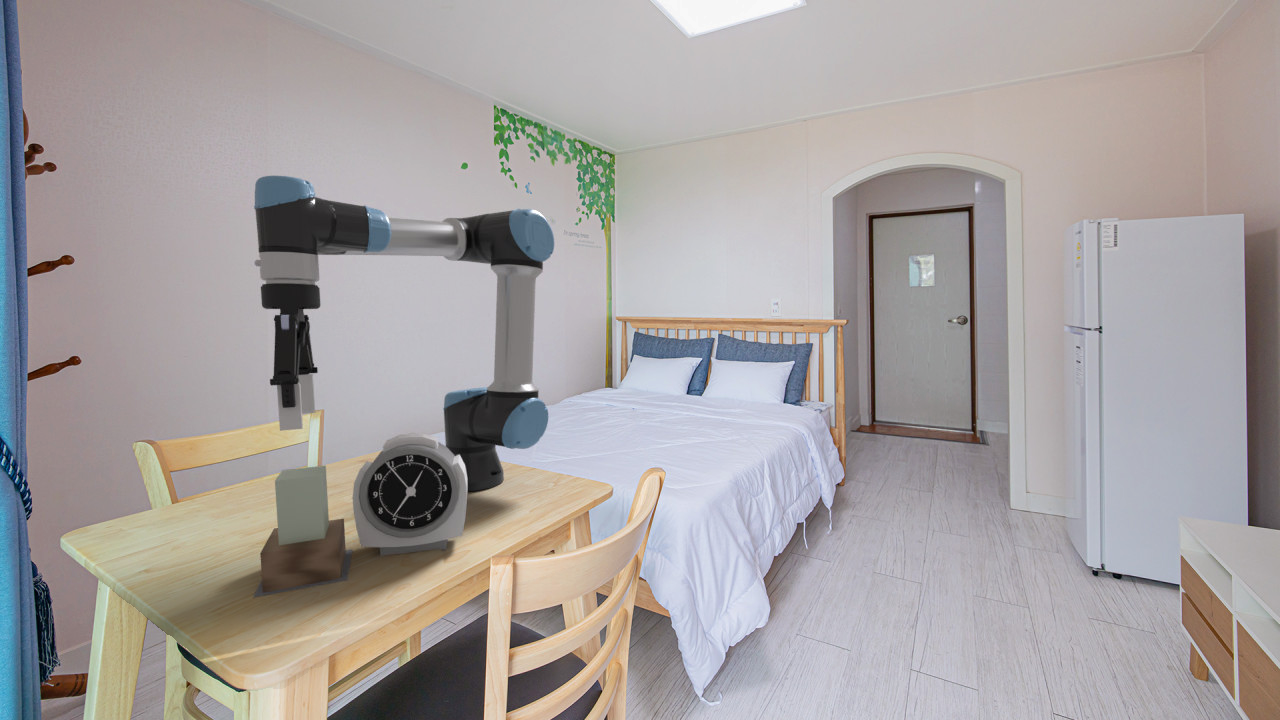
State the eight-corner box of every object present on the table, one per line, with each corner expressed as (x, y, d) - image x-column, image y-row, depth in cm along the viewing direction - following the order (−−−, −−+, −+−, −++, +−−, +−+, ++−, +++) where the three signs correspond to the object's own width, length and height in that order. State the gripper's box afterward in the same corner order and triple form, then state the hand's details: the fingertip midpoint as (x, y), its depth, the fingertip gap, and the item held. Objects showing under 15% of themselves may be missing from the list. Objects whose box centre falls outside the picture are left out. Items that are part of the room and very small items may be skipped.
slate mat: (352, 551, 93) (352, 548, 93) (347, 582, 82) (347, 579, 82) (270, 564, 88) (270, 562, 88) (253, 600, 77) (252, 597, 77)
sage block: (329, 524, 88) (325, 465, 88) (324, 538, 83) (321, 475, 82) (286, 530, 86) (282, 470, 85) (278, 545, 80) (274, 480, 80)
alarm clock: (353, 565, 88) (347, 444, 86) (364, 543, 96) (359, 433, 94) (468, 551, 93) (464, 436, 91) (469, 532, 101) (466, 426, 99)
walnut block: (345, 552, 92) (343, 518, 91) (340, 578, 83) (338, 540, 82) (276, 563, 87) (274, 528, 87) (262, 592, 78) (260, 553, 78)
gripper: (277, 286, 91) (284, 409, 93) (239, 277, 68) (250, 440, 70) (327, 287, 94) (334, 406, 96) (307, 278, 71) (316, 434, 73)
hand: (298, 421), depth 83 cm, fingers open, 13 cm apart
